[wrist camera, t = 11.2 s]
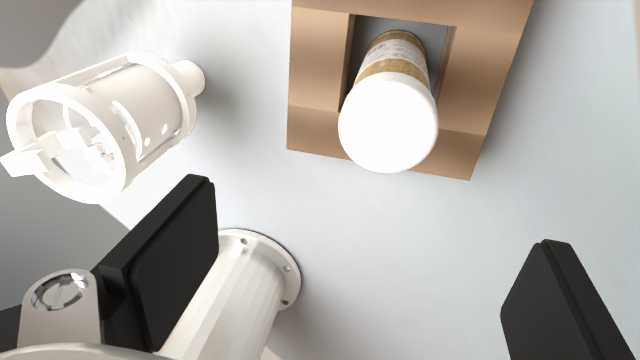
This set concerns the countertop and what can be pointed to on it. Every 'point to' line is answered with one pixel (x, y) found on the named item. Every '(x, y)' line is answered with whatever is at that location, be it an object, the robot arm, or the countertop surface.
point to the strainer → (107, 121)
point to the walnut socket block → (450, 85)
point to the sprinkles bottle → (390, 107)
